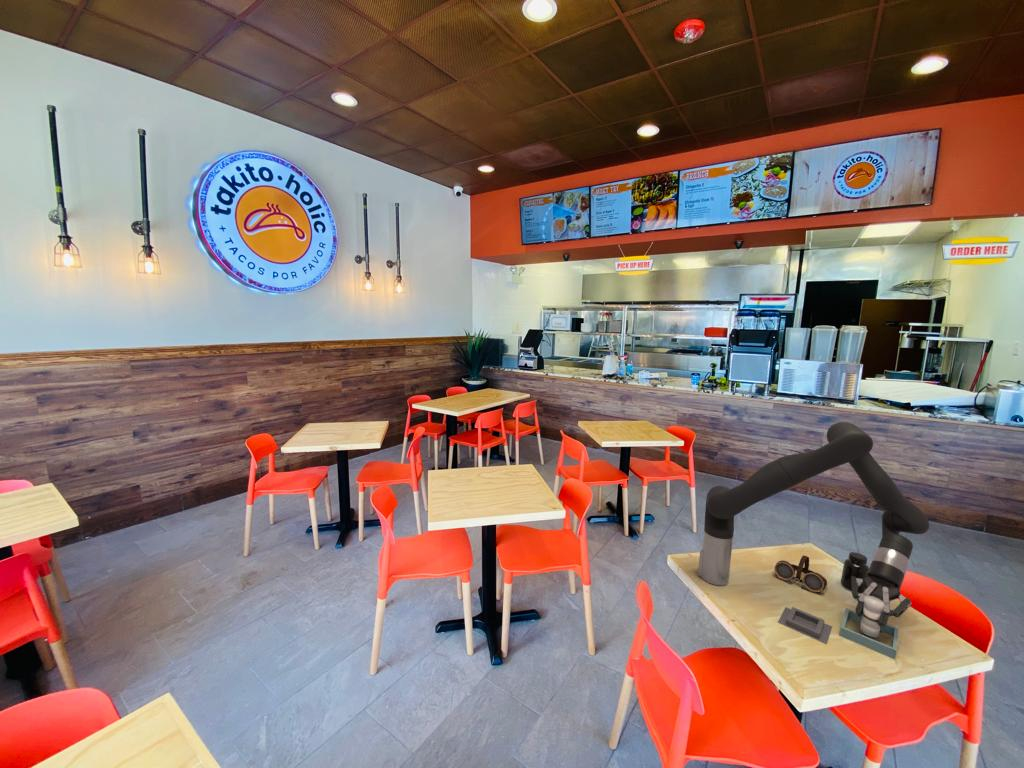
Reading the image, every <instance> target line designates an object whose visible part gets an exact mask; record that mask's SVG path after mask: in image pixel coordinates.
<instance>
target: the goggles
mask: <svg viewBox="0 0 1024 768" xmlns="http://www.w3.org/2000/svg"><path fill="white" fill-rule="evenodd" d="M774 572H775V575H776V576H777V578H779V579H780V580H783V581H786V582H787V584H788V585H792V584H793V583H794V582H795V581H796V582H798V583H799V585H800V588H801V590H804V591H805V590H808V591H810V592H813V593H819V592H822V591H824V590H825V589H826V587H827V585H828V580H827V578H825V576H822V574H820V573H818V572H817V571H816V572H815V571H813V570H811V569H810V557H809V556H807V555H802V556H801V558H800V560H799V562H798V565H796V564H793V563H791V562H789V561H788V560H779V561H777V562H776V564H775V565H774ZM802 573H803V574H804V575H803V576H802Z"/></svg>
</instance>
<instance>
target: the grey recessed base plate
mask: <svg viewBox="0 0 1024 768" xmlns="http://www.w3.org/2000/svg"><path fill="white" fill-rule="evenodd" d="M777 623H778V624H780V625H782V626H785V627H787V628H789V629H791V630H794V631H795V632H797V633H800V634H802V635H804V636H807V637H809V638H812V639H814V640H816V641H818V642H820V643H823V644H825V645H828V642H829V639H830V635H831V633H832V629H833V626H832V625H830V624H827V623H826V622H825V619H823V618H821V617H818V616H816V615H813V614H811V613H808V612H806V611H804V610H801V609H798V608H796V607H794V606H792V607H791V608H789V607H787V606H785V607H784V609H783V611H782V613H781V615H780V617H779V619H778V621H777Z"/></svg>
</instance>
